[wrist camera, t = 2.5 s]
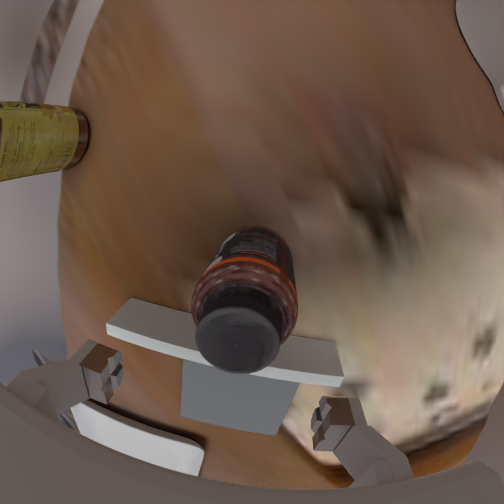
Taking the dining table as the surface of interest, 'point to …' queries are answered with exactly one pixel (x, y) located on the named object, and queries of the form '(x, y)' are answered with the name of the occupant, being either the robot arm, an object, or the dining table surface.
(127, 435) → the salad plate
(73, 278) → the dining table surface
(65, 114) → the sauce bottle
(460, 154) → the dining table surface
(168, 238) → the dining table surface
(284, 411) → the rubber mat
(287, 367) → the acrylic wall
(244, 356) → the supplement bottle
